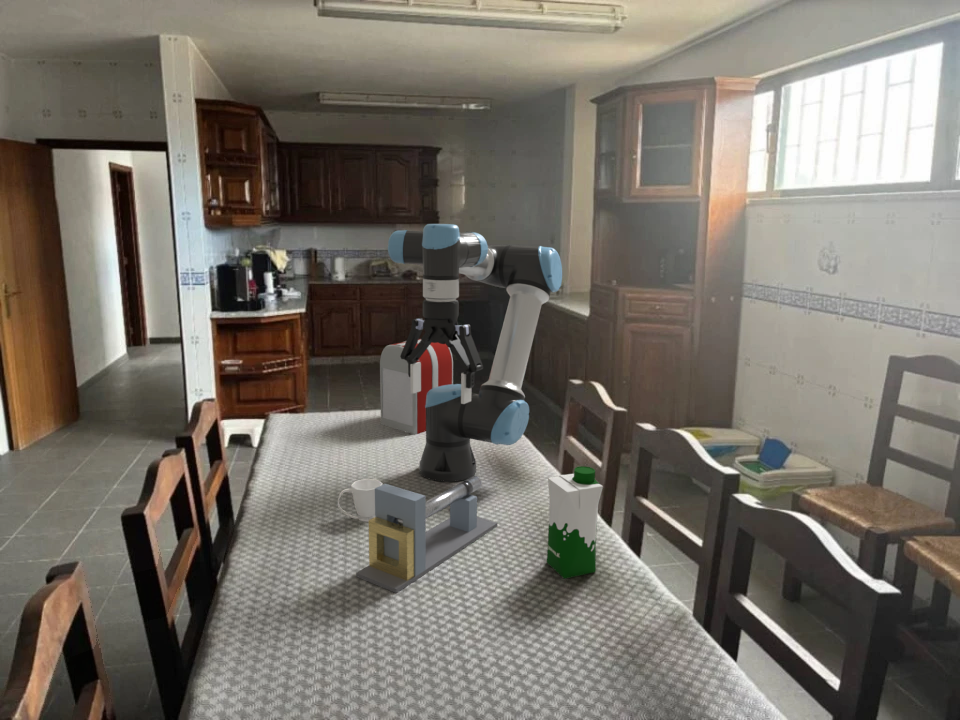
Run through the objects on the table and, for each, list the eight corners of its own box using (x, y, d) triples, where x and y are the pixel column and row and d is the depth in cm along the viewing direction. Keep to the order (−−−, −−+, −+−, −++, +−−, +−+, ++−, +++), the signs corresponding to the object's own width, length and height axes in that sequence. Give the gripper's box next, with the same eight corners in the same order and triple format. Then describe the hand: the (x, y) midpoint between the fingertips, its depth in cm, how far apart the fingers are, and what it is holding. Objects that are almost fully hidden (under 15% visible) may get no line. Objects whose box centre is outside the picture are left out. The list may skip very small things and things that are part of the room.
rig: (460, 514, 162) (461, 448, 158) (497, 526, 156) (499, 457, 153) (356, 576, 134) (354, 497, 131) (396, 593, 129) (395, 511, 125)
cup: (384, 523, 157) (383, 489, 155) (338, 526, 155) (337, 491, 153) (382, 510, 163) (381, 477, 162) (338, 512, 162) (337, 479, 160)
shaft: (470, 487, 157) (470, 474, 156) (481, 490, 155) (482, 477, 155) (393, 529, 136) (392, 514, 135) (405, 534, 134) (405, 519, 134)
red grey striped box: (379, 423, 227) (377, 341, 222) (418, 412, 241) (418, 334, 235) (415, 435, 217) (415, 348, 211) (454, 422, 230) (454, 341, 224)
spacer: (376, 561, 138) (375, 516, 136) (414, 576, 133) (413, 529, 131) (369, 565, 137) (368, 520, 135) (407, 580, 131) (407, 533, 129)
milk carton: (602, 573, 137) (608, 476, 133) (561, 582, 133) (566, 483, 129) (578, 553, 145) (583, 460, 140) (539, 561, 141) (543, 466, 137)
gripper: (383, 295, 151) (385, 391, 156) (480, 306, 138) (478, 411, 142) (406, 292, 158) (406, 384, 162) (500, 302, 144) (498, 402, 149)
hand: (440, 397), depth 152 cm, fingers open, 13 cm apart
